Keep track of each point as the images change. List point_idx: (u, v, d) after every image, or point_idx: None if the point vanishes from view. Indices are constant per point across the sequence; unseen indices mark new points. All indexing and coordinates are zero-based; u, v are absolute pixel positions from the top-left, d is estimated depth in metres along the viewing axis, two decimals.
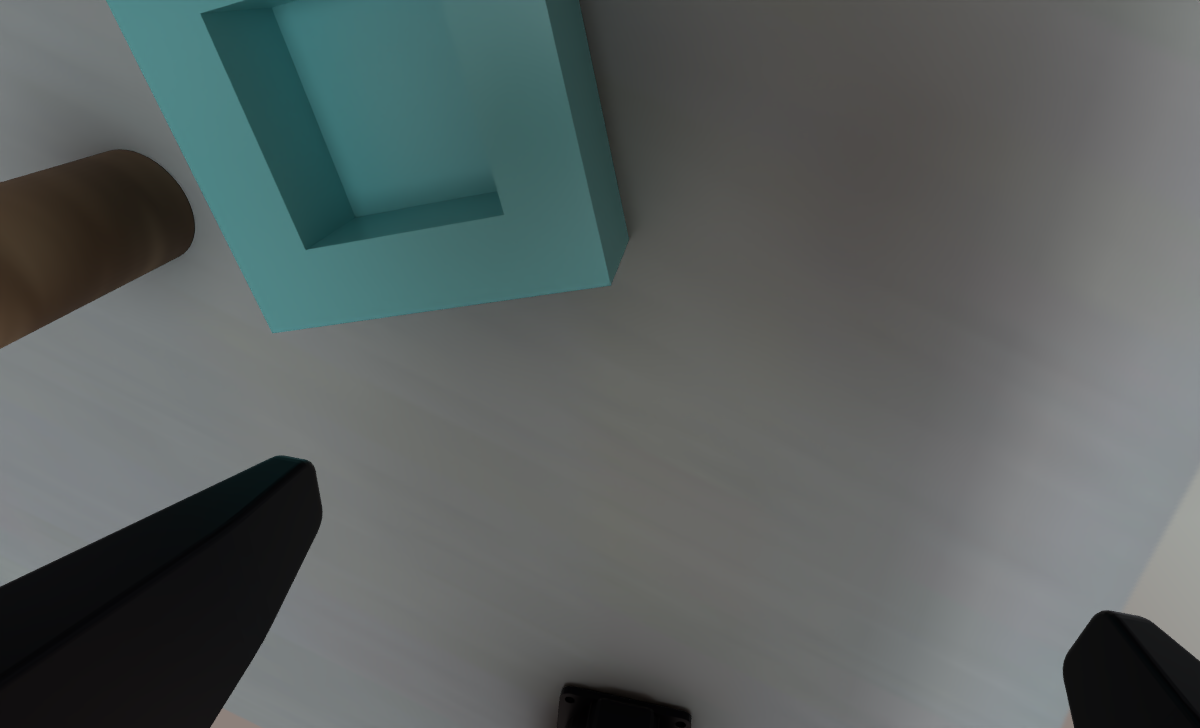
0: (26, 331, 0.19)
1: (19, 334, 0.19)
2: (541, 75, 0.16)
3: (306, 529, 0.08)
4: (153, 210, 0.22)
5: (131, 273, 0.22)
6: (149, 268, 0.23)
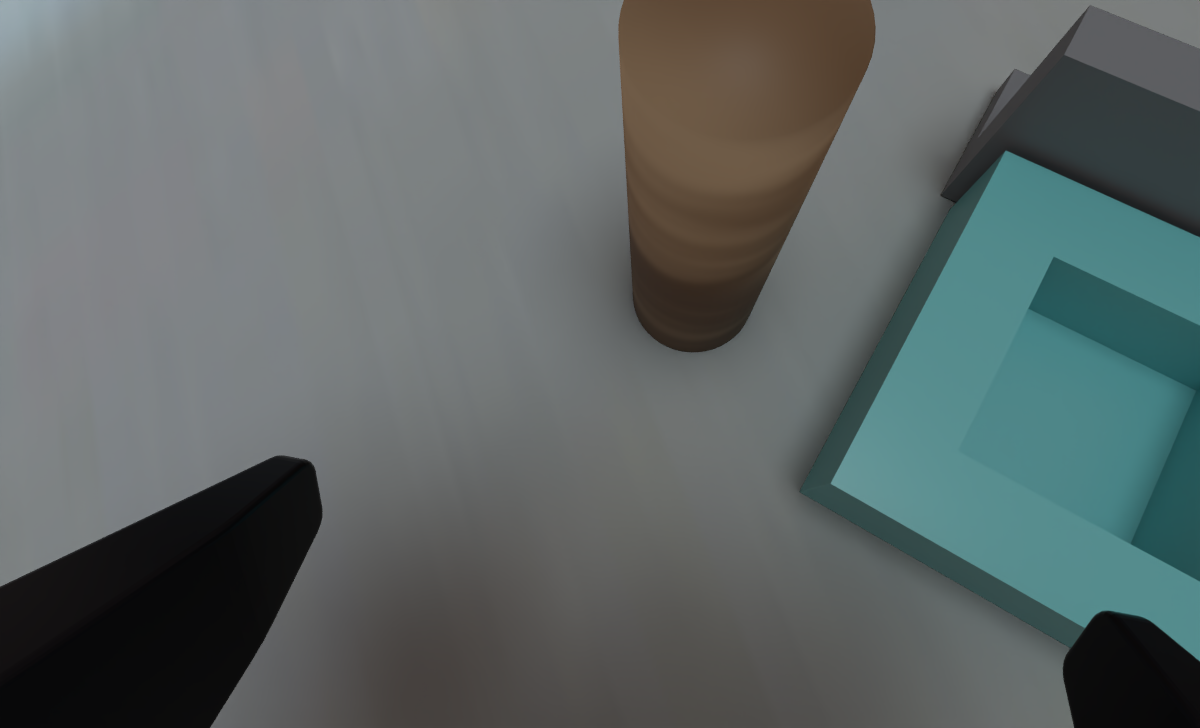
0: (710, 280, 0.16)
1: (712, 277, 0.16)
2: None
3: (306, 529, 0.08)
4: (752, 307, 0.21)
5: (709, 326, 0.20)
6: (696, 336, 0.20)
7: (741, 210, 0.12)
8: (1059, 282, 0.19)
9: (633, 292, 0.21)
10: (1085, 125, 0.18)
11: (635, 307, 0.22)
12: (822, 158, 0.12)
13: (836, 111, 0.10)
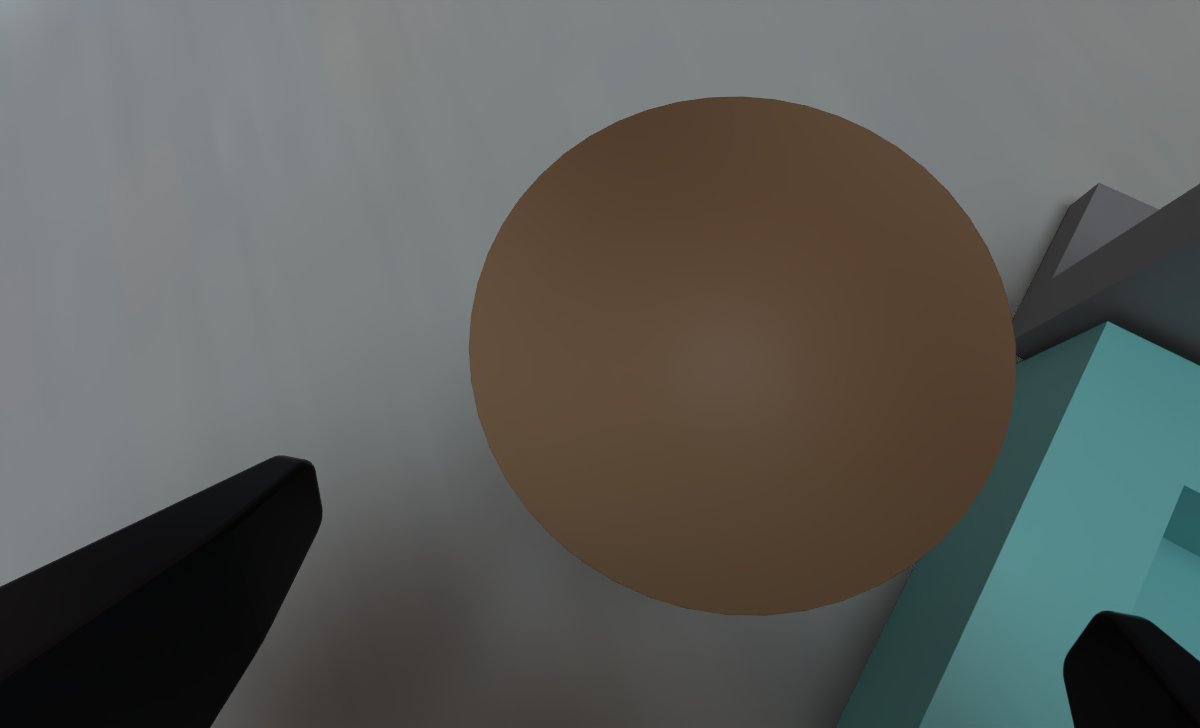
0: None
1: None
2: None
3: (306, 529, 0.08)
4: None
5: None
6: None
7: None
8: (1184, 508, 0.14)
9: None
10: None
11: None
12: None
13: (934, 539, 0.05)
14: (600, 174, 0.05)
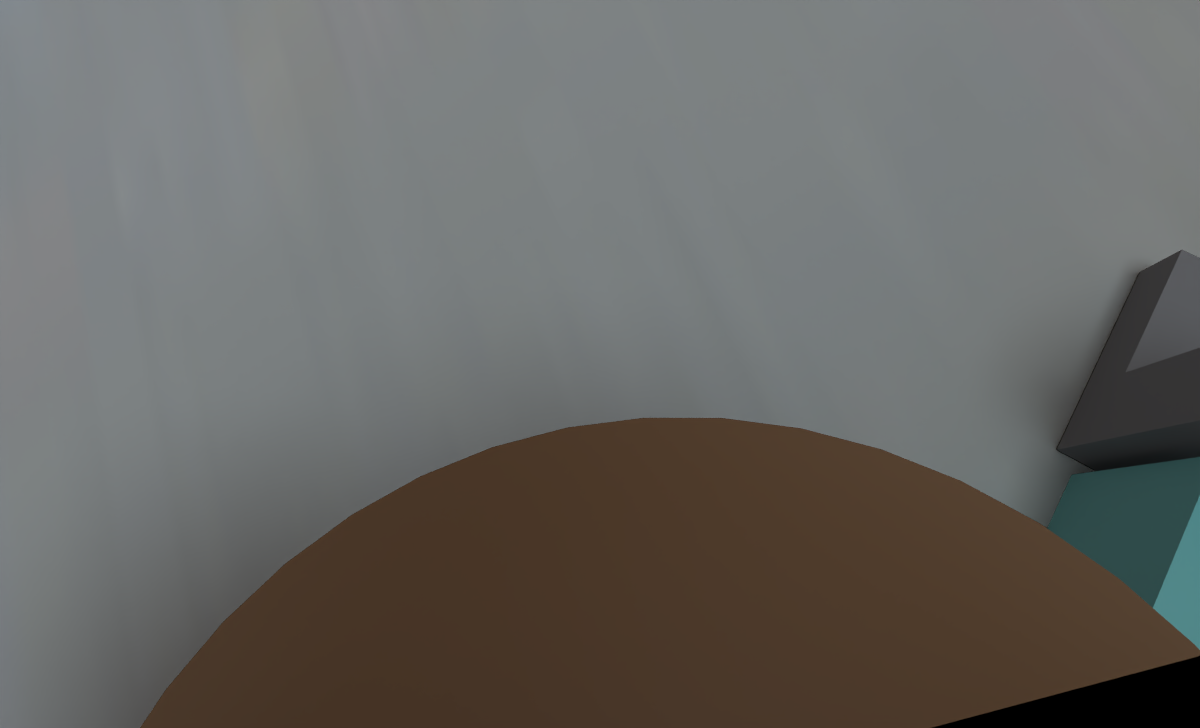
0: None
1: None
2: None
3: None
4: None
5: None
6: None
7: None
8: None
9: None
10: None
11: None
12: None
13: None
14: (367, 627, 0.02)
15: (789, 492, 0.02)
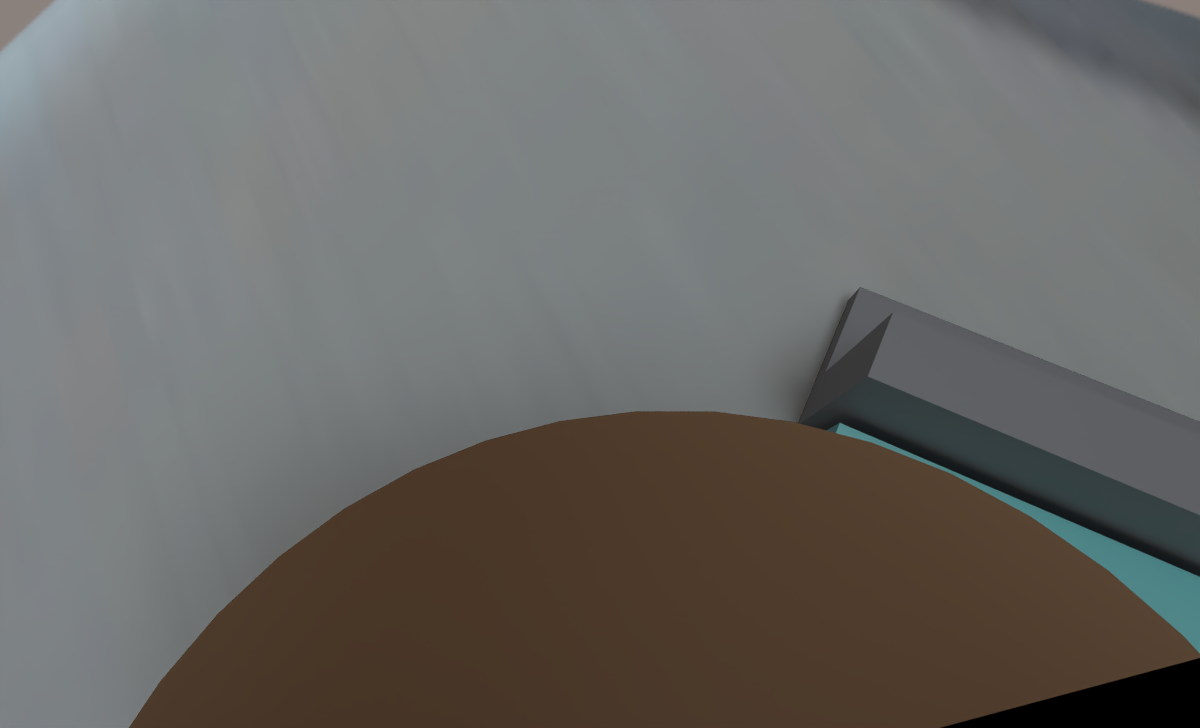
0: None
1: None
2: None
3: None
4: None
5: None
6: None
7: None
8: None
9: None
10: (910, 420, 0.16)
11: None
12: None
13: None
14: (361, 619, 0.02)
15: (781, 485, 0.02)
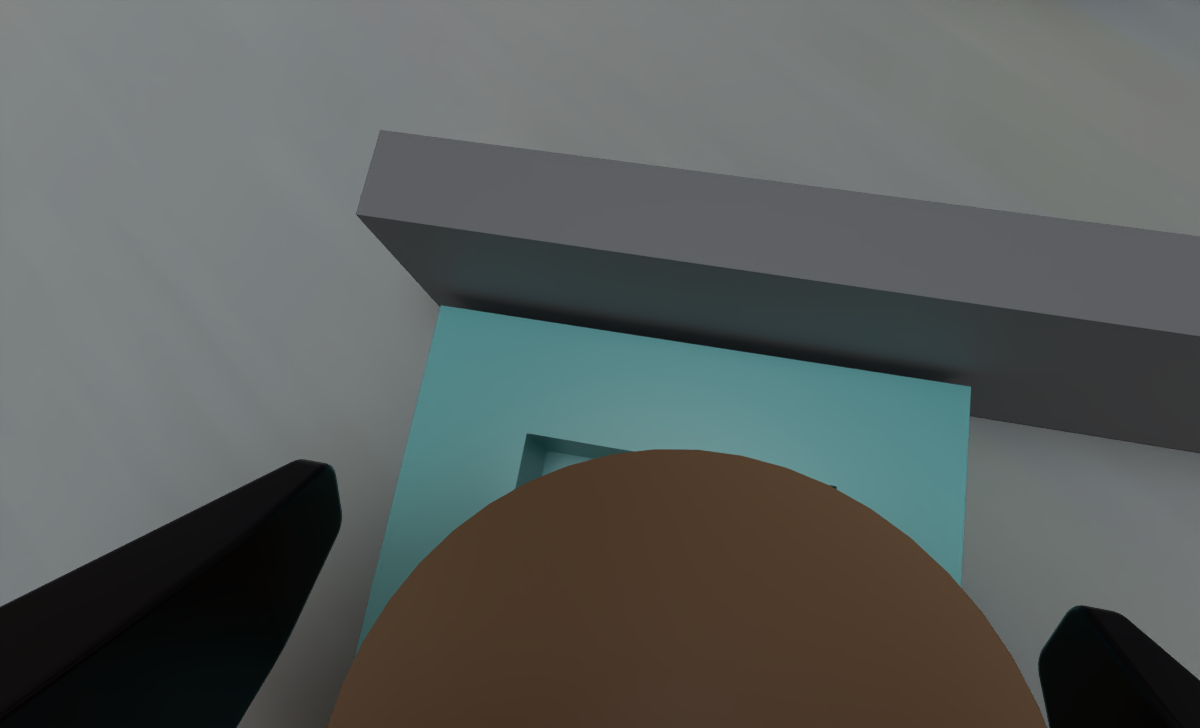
0: None
1: None
2: None
3: (326, 533, 0.08)
4: None
5: None
6: None
7: None
8: (568, 445, 0.15)
9: None
10: (475, 267, 0.13)
11: None
12: None
13: None
14: (501, 565, 0.04)
15: (735, 491, 0.04)
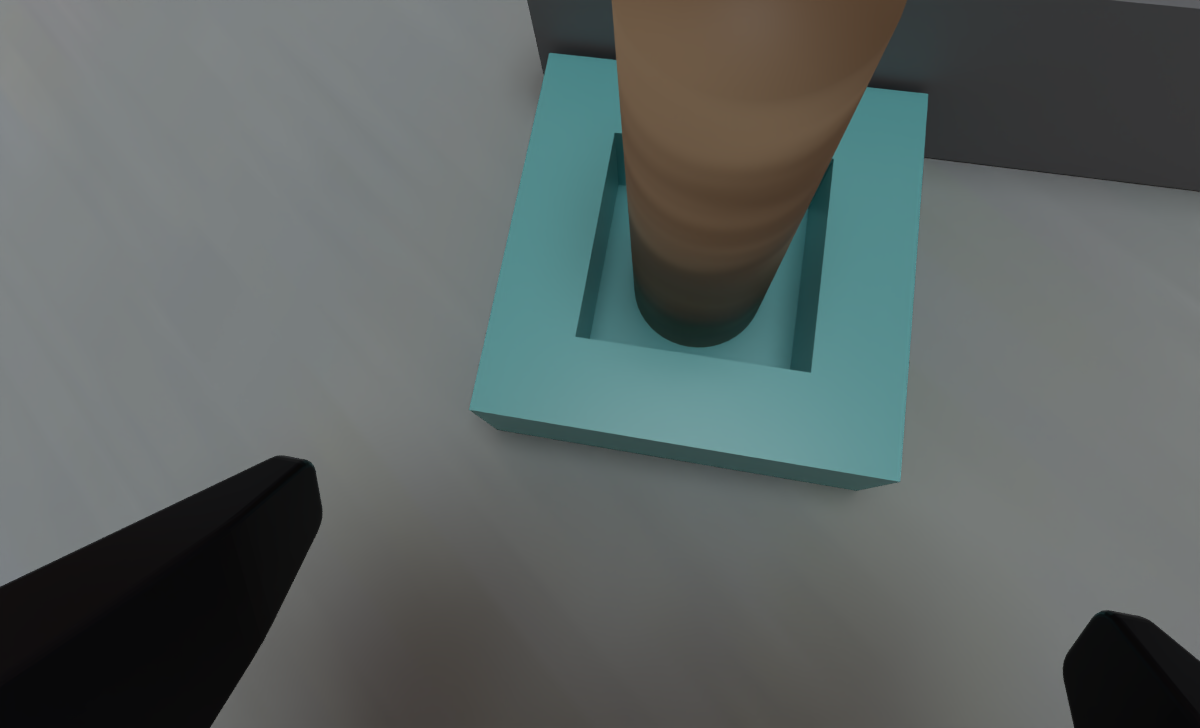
0: (718, 269, 0.14)
1: (720, 265, 0.14)
2: (895, 271, 0.18)
3: (306, 529, 0.08)
4: (762, 299, 0.19)
5: (717, 319, 0.18)
6: (703, 330, 0.19)
7: (753, 187, 0.11)
8: None
9: (634, 284, 0.20)
10: (584, 1, 0.18)
11: (636, 300, 0.21)
12: (845, 126, 0.11)
13: (865, 66, 0.09)
14: None
15: None
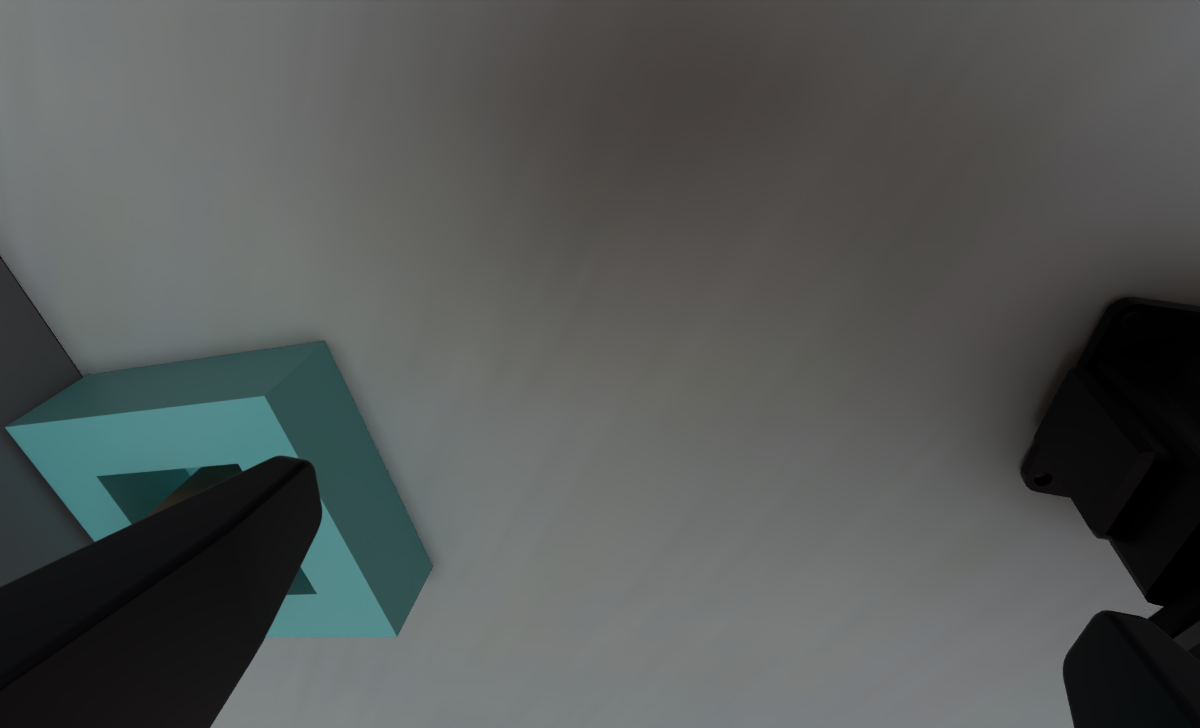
0: None
1: None
2: (134, 425, 0.22)
3: (306, 529, 0.08)
4: (225, 468, 0.25)
5: None
6: None
7: None
8: None
9: None
10: None
11: None
12: None
13: None
14: None
15: None
